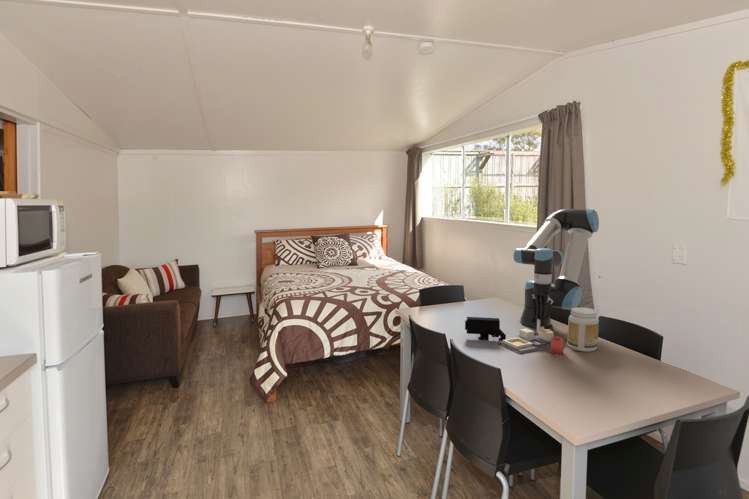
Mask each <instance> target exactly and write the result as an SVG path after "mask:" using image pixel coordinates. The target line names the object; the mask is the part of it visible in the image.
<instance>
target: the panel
mask: <svg viewBox="0 0 749 499" xmlns="http://www.w3.org/2000/svg"><path fill="white" fill-rule="evenodd" d="M498 344H499V345H502V346H504V347H505V348H508V349H510V350H512V351H515V352H517V353H519V354H525V353H529V352H535V351H540V350H544V349H551V341H549V342H548V341H545V340H543V339H540V338H538V333H537V331H534V340H531V341H528V340H526V339H523V338H521V337H519V334H518V335H516V337H511V338H506V339H505V340H501V341H499V340H498Z"/></svg>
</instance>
